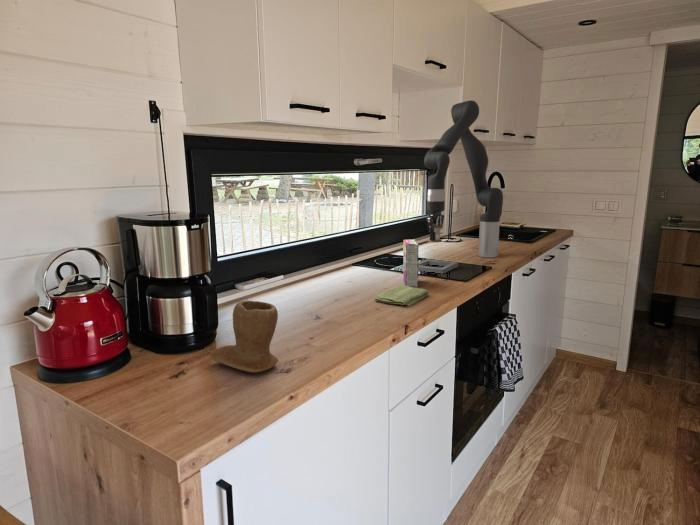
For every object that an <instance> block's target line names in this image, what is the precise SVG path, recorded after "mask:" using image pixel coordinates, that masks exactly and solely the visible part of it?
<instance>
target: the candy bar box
mask: <svg viewBox="0 0 700 525" xmlns="http://www.w3.org/2000/svg"><path fill="white" fill-rule="evenodd" d="M402 251H403V253H402V254H403V259H402V260H403V267H402V268H403V270H402V272H403V281H404V284H405V286H409V287H413V288H415V287H416V288H419V271H418V263H419V243H418V241H417V240H416V239H414V238H413V239H410V238H409V239H403V250H402Z"/></svg>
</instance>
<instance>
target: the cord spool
mask: <svg viewBox="0 0 700 525" xmlns="http://www.w3.org/2000/svg"><path fill="white" fill-rule="evenodd" d="M433 227H434V226H433ZM440 227H442V225H437V226H436V227H435V228H436V231H435V241H431V240H430V238H429V239H428V240H427V242H429V243H442V239H441V230H440ZM429 228H430V226H429Z"/></svg>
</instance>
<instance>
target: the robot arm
mask: <svg viewBox="0 0 700 525" xmlns="http://www.w3.org/2000/svg"><path fill="white" fill-rule="evenodd" d="M450 113H451V119H452V122H453V125H451V126H450V127H449V128H448V129H447V130H445V131H444V133H442V136H441V137H440V139H439V140H438V141H437V143H436V144H435V145H434V146H433V147H431V148H430V149H429V150H427V152H426V154H425V156H424V160H423V164H424V166H425V167H426V168H427V169H428V170H429V169H430V170H436V173H435V174H431V175H429V176H428V177H427V193H426V212H429V217H426V219H425V220H426V229H427V230H426V231H429V239H430V240H431V241H435V231H436V228H435V227H436V226H437V225H442V227H440V231H441V230H442V229H443V227H444V221H445V215H444V214H442V212H444V211H445V210H446V209H445V207H446V204H445V203H446V202H445V201H446V190H445V189H446V188H445V187H446V186H445V184H446V177H447V172H448V170H449V166H450V162H451V158H450V154H451V153H452V152H453V150H454V149H455V147H456V145H457V144H458V142H459V141H460V142H461V144H462V148H463V151H464V155H465V158H466V161H467V164H468V166H469V170H470V174H471V178H472V181H473V186H474V191H475V196H476V201H477V202H478V204H479V205H480V206H482V207H484V208H487V209H486V212H484V213H483V214H480V216H479V234H478V253H477V254H478V257H481V258H488V259H489V258H498V256H499V241H500V238H499V237H500V224H501V223H500V219H501V216H502V212H503V203H504V194H503V190H502V189H500V188H499V187H489V186H490V185H489V184H488V181H487V171H488V166H489V156H488V153H487V150H486V147H485V145H484V144H483V143H482V141H480V139H478V138H477V136H476V135H474V134H473V132H472V131H471V130H470V127H472V125H473V124H474V123H475V122H476V120H477V119H478V118H479V114H480V107H479V105H478V103H477V102H476V101H475V100H465V101H462V102H459V103H455V104H453V105H452V107H451V110H450ZM429 226H430V227H429ZM433 226H434V227H433Z"/></svg>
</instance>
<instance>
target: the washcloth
mask: <svg viewBox="0 0 700 525" xmlns="http://www.w3.org/2000/svg"><path fill="white" fill-rule="evenodd" d="M429 292H430V291H428V289H426V288H419V287H409V286H406V285H404V284H398V285H396V286H395V287H391V288H390V289H387V290H386V291H383V292H381V293H379V294H378V295H376V297H375V298H374V301H375V302H379V303H384V304H389V305H391V304H392V305H399V306H402V305H404V307H407V306H409V307H411V306H412V304H413V305H414V304H417V303H418V302H419V300H420V301H421V300H424V297H425V298H426V296H427V297H428V295H429ZM410 305H411V306H410Z"/></svg>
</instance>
